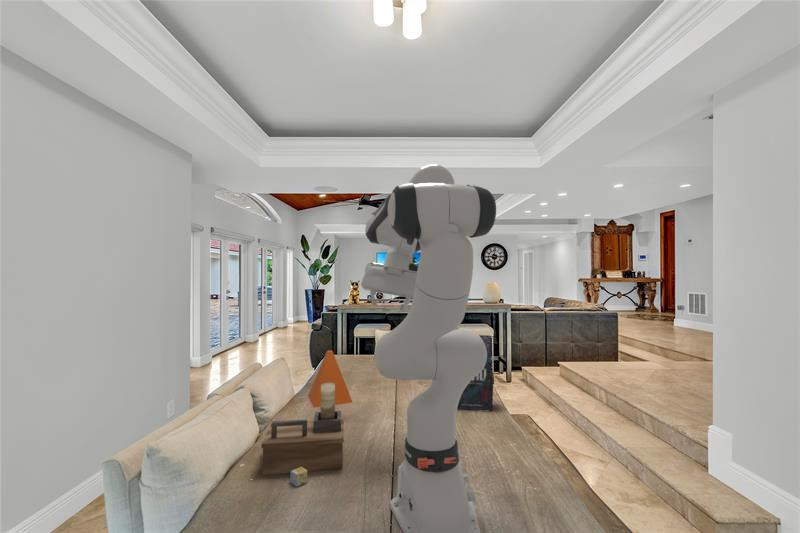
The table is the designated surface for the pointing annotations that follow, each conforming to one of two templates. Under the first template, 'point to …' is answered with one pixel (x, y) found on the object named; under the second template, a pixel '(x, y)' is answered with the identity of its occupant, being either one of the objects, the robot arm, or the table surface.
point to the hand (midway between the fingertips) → (387, 307)
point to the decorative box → (479, 385)
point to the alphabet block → (298, 476)
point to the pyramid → (329, 374)
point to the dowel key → (327, 401)
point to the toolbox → (303, 445)
